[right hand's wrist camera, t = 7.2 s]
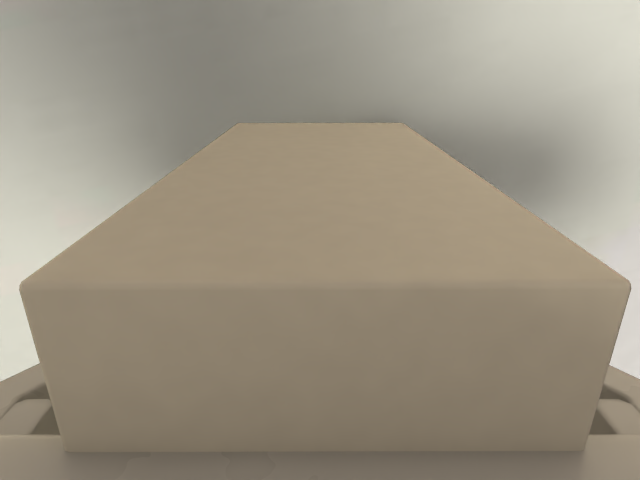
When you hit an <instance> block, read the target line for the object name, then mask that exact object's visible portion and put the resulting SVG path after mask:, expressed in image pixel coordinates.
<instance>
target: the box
mask: <svg viewBox="0 0 640 480" xmlns="http://www.w3.org/2000/svg"><path fill="white" fill-rule="evenodd" d="M19 290H20V294H21V298H22V301H23V305H24V308H25V312H26V315H27V319H28V322H29V326H30V329H31V333H32V336H33V340H34V343H35V347H36V351H37V354H38V358H39V361H40V365H41V368H42V372H43V375H44V379H45V382H46V386H47V389H48V393H49V397H50V400H51V404H52V407H53V411H54V414H55V418H56V421H57V425H58V428H59V432H60V435H61V439H62V443H63V446H64V450H65V451H67V452H407V451H582V450H584V449H585V446H586V442H587V439H588V435H589V432H590V429H591V425H592V422H593V418H594V415H595V411H596V408H597V404H598V401H599V398H600V394H601V391H602V387H603V384H604V380H605V377H606V374H607V370H608V367H609V363H610V360H611V356H612V353H613V349H614V346H615V343H616V339H617V336H618V332H619V329H620V325H621V322H622V319H623V315H624V312H625V308H626V305H627V301H628V298H629V294H630V291H631V284H630V282H629V280H627V279H626V278H624V277H623V276H622V275H620V274H619V273H617V272H616V271H614V270H613V269H612V268H610V267H609V266H607V265H606V264H604V263H603V262H601V261H600V260H599V259H597V258H596V257H594V256H593V255H591V254H590V253H589V252H587V251H586V250H584V249H583V248H581V247H580V246H579V245H577V244H576V243H574V242H573V241H571V240H570V239H569V238H567V237H566V236H564V235H563V234H561V233H560V232H558V231H557V230H556V229H554V228H553V227H551V226H550V225H548V224H547V223H546V222H544V221H543V220H541V219H540V218H538V217H537V216H536V215H534V214H533V213H531V212H530V211H528V210H527V209H526V208H524V207H523V206H521V205H520V204H518V203H517V202H516V201H514V200H513V199H511V198H510V197H508V196H507V195H505V194H504V193H503V192H501V191H500V190H498V189H497V188H495V187H494V186H493V185H491V184H490V183H488V182H487V181H485V180H484V179H483V178H481V177H480V176H478V175H477V174H475V173H474V172H473V171H471V170H470V169H468V168H467V167H465V166H464V165H462V164H461V163H460V162H458V161H457V160H455V159H454V158H452V157H451V156H450V155H448V154H447V153H445V152H444V151H442V150H441V149H440V148H438V147H437V146H435V145H434V144H432V143H431V142H430V141H428V140H427V139H425V138H424V137H422V136H421V135H419V134H418V133H417V132H415V131H414V130H412V129H411V128H409V127H408V126H407V125H405V124H404V123H237V124H236V125H235V126H233V127H232V128H230V129H229V130H228V131H226V132H225V133H224V134H222V135H221V136H220V137H218V138H217V139H215V140H214V141H213V142H211V143H210V144H209V145H207V146H206V147H205V148H203V149H202V150H200V151H199V152H198V153H196V154H195V155H194V156H192V157H191V158H190V159H188V160H187V161H185V162H184V163H183V164H181V165H180V166H179V167H177V168H176V169H175V170H173V171H172V172H171V173H169V174H168V175H166V176H165V177H164V178H162V179H161V180H160V181H158V182H157V183H156V184H154V185H153V186H151V187H150V188H149V189H147V190H146V191H145V192H143V193H142V194H141V195H139V196H138V197H136V198H135V199H134V200H132V201H131V202H130V203H128V204H127V205H126V206H124V207H123V208H121V209H120V210H119V211H117V212H116V213H115V214H113V215H112V216H111V217H109V218H108V219H107V220H105V221H104V222H102V223H101V224H100V225H98V226H97V227H96V228H94V229H93V230H92V231H90V232H89V233H87V234H86V235H85V236H83V237H82V238H81V239H79V240H78V241H77V242H75V243H74V244H72V245H71V246H70V247H68V248H67V249H66V250H64V251H63V252H62V253H60V254H59V255H57V256H56V257H55V258H53V259H52V260H51V261H49V262H48V263H47V264H45V265H44V266H43V267H41V268H40V269H38V270H37V271H36V272H34V273H33V274H32V275H30V276H29V277H28V278H26V279H25V280H23V281H22V282H21V284H20V289H19Z"/></svg>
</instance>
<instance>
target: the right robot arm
mask: <svg viewBox="0 0 640 480" xmlns="http://www.w3.org/2000/svg"><path fill="white" fill-rule="evenodd" d="M0 480H640V379H638V378H636V377H634V376H631V375H629V374H627V373H625V372H623V371H621V370H619V369H616V368H614V367H612V366H610V365H609V367H608V370H607V374H606V377H605V380H604V384H603V387H602V391H601V394H600V398H599V401H598V404H597V408H596V411H595V415H594V418H593V422H592V425H591V429H590V432H589V435H588V439H587V442H586V446H585V449H584V450H582V451H407V452H67V451H65V450H64V446H63V443H62V439H61V435H60V432H59V428H58V425H57V421H56V418H55V414H54V411H53V407H52V404H51V400H50V397H49V393H48V389H47V386H46V382H45V379H44V375H43V372H42V368H41V365H40V363H39V364H37V365H35V366H33V367H31V368H29V369H27V370H24V371H22V372H20V373H18V374H16V375H14V376H12V377H10V378H7V379H5V380H3V381H1V382H0Z"/></svg>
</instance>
